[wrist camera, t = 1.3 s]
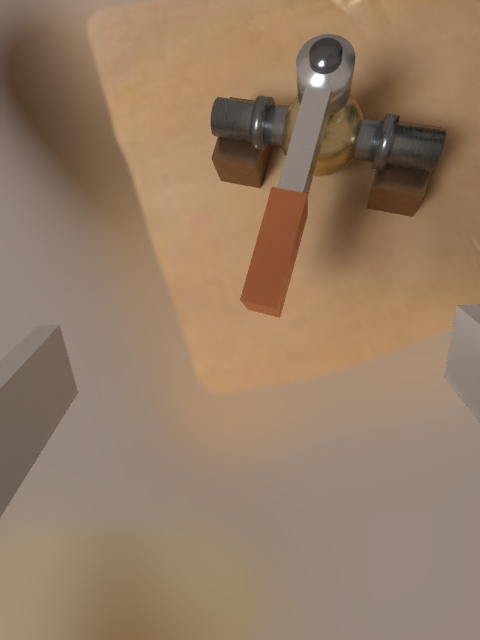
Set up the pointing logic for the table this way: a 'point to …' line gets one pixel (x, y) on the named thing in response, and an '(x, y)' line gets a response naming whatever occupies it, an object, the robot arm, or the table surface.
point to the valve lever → (298, 170)
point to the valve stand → (329, 148)
